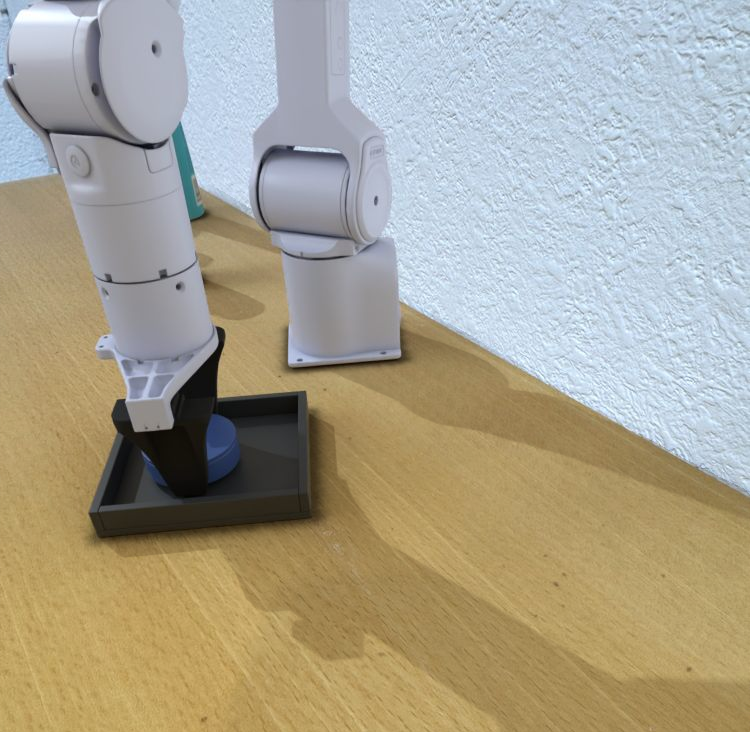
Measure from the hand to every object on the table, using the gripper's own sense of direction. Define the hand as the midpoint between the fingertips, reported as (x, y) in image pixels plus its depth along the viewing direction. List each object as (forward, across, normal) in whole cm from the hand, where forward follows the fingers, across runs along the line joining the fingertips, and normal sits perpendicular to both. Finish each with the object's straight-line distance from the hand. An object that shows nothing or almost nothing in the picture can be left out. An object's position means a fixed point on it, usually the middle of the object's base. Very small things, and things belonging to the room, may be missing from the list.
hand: (197, 461), depth 47 cm
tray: (+1, 0, +1) cm, 1 cm away
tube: (+1, -57, -8) cm, 58 cm away
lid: (-2, 0, 0) cm, 2 cm away
